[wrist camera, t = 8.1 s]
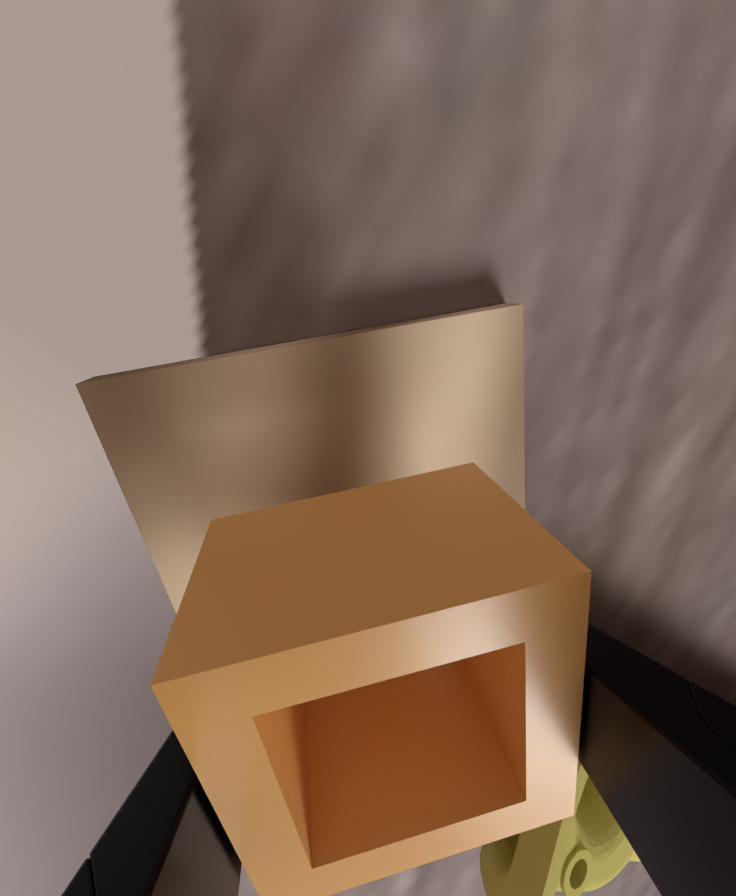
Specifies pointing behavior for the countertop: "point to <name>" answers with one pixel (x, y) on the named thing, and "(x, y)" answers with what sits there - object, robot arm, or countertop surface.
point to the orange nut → (379, 678)
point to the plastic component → (560, 852)
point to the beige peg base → (310, 422)
